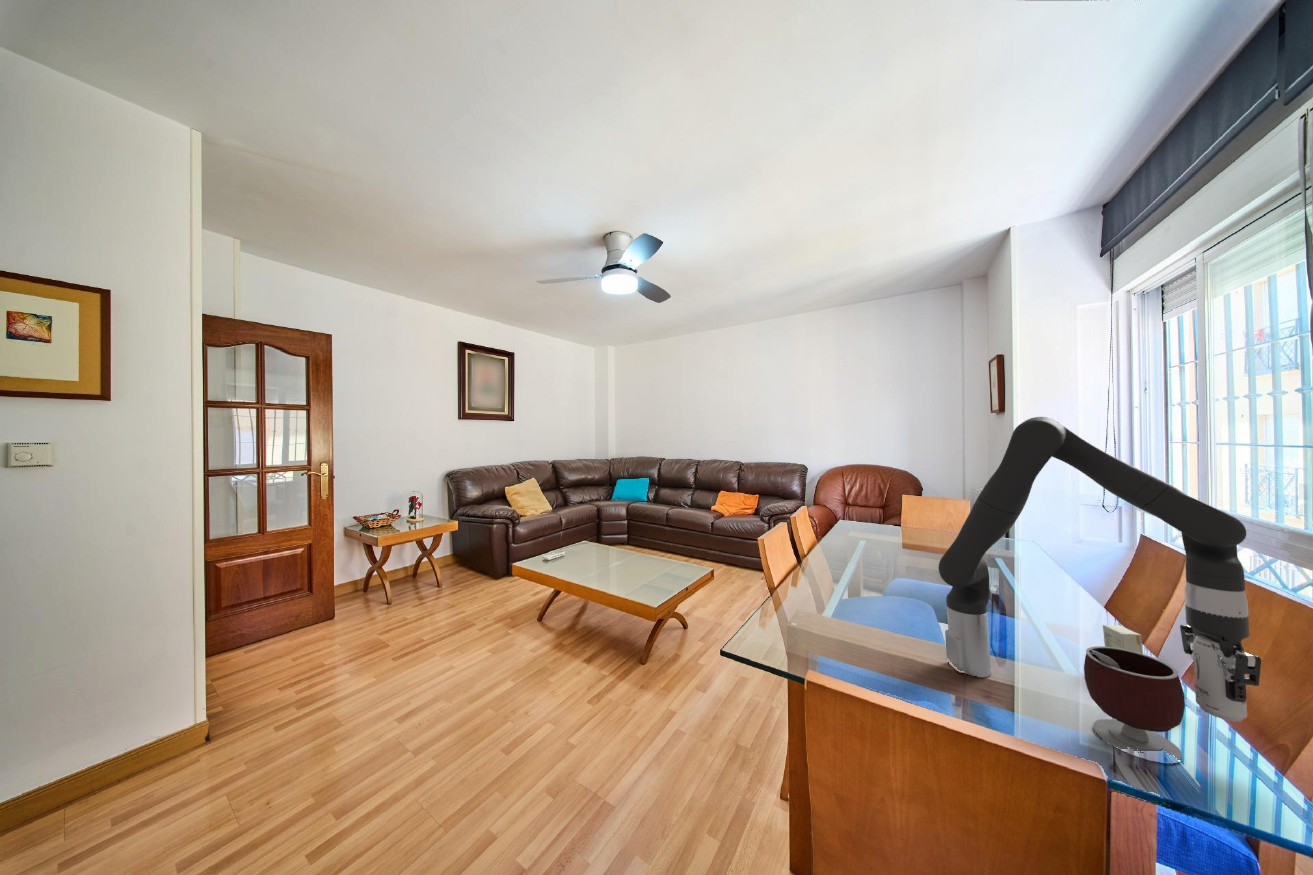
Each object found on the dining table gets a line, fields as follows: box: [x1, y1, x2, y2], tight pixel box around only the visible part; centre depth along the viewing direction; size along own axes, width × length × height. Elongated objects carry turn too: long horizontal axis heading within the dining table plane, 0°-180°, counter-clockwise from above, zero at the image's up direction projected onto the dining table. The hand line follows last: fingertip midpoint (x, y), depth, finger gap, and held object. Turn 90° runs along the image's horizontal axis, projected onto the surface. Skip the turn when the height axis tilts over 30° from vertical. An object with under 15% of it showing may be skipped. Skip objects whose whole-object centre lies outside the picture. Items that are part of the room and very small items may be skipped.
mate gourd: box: [1083, 645, 1186, 761], centre depth 86 cm, size 16×14×20 cm
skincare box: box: [1102, 624, 1144, 654], centre depth 109 cm, size 6×4×12 cm
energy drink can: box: [1192, 634, 1248, 723], centre depth 81 cm, size 6×6×15 cm
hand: (1219, 689), depth 81 cm, fingers closed on energy drink can, 6 cm apart
